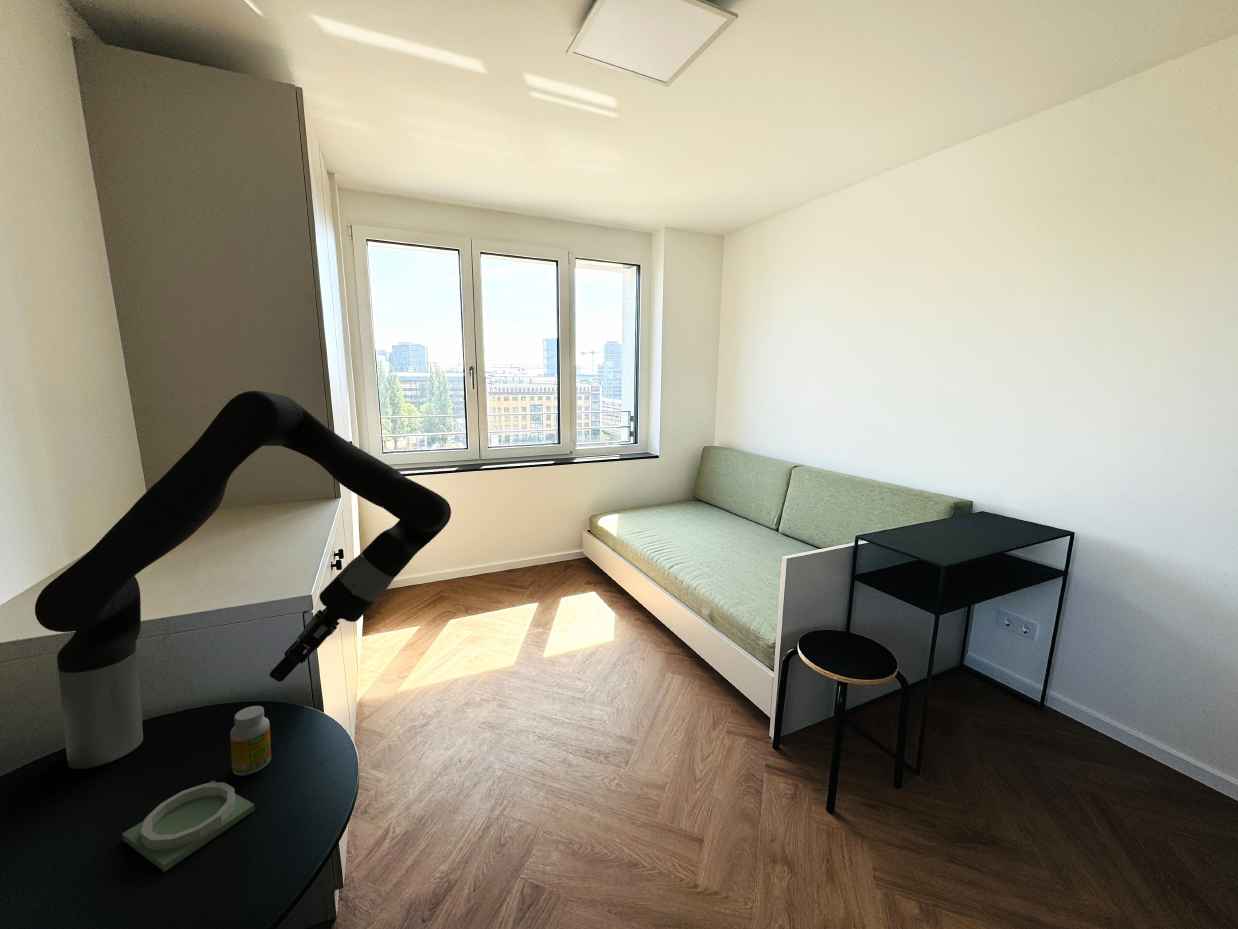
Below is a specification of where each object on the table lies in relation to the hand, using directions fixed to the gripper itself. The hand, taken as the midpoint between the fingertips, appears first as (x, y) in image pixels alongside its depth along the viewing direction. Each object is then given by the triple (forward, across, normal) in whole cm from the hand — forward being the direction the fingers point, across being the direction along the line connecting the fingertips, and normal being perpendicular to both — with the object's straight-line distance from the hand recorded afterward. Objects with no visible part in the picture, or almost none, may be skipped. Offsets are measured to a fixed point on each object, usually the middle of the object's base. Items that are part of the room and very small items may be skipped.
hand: (282, 667), depth 77 cm
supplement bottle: (+19, -9, +8) cm, 23 cm away
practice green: (+23, +2, +6) cm, 24 cm away
